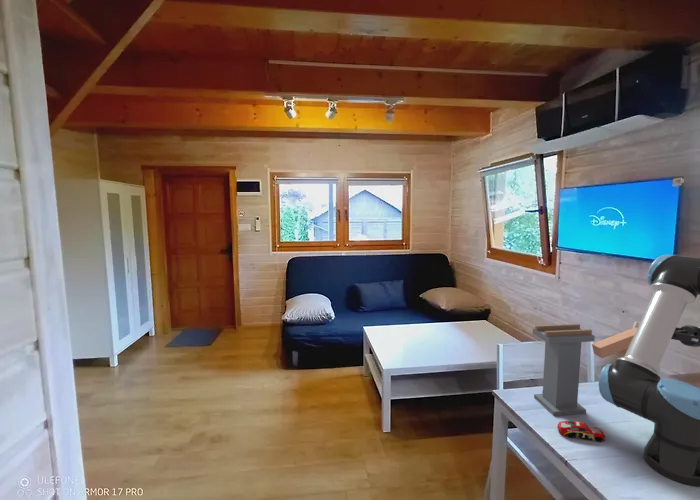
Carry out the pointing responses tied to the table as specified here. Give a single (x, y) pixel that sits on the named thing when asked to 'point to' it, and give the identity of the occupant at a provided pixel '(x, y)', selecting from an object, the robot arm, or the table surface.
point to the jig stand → (562, 367)
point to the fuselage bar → (614, 343)
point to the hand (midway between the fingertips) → (640, 327)
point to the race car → (580, 431)
